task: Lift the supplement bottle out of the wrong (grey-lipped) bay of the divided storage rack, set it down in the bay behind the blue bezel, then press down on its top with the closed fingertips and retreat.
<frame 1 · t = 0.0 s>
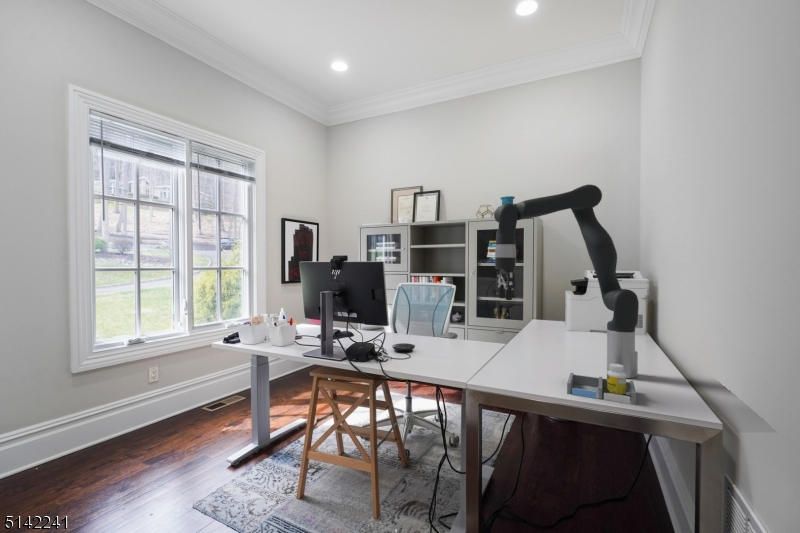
hand: (505, 299, 138), 29 cm above the table, fingers open, 8 cm apart
supplement bottle: (616, 395, 117), resting in divided storage rack
divided storage rack: (600, 392, 119), on the table
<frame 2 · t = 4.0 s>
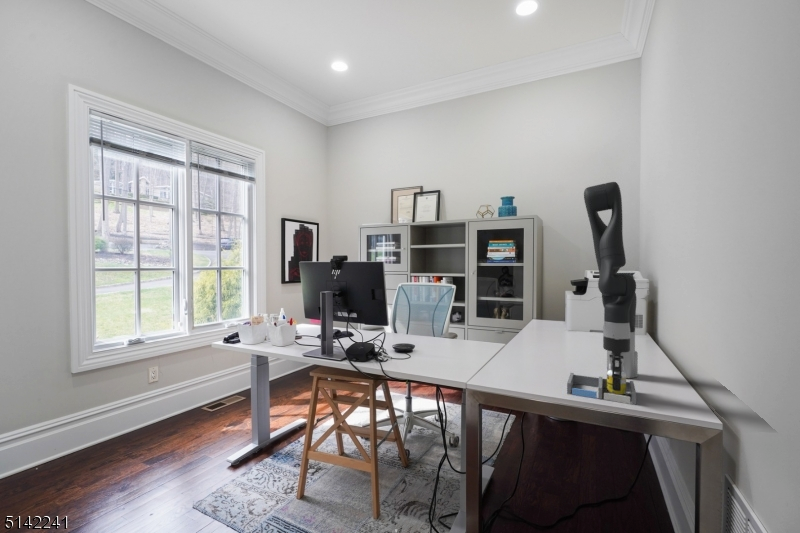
hand: (616, 387, 117), 3 cm above the table, fingers closed on supplement bottle, 5 cm apart
supplement bottle: (616, 395, 117), resting in divided storage rack, touching gripper
when the fingers open (4 cm above the table, at t = 9.0 s): supplement bottle drops 1 cm, resting in divided storage rack.
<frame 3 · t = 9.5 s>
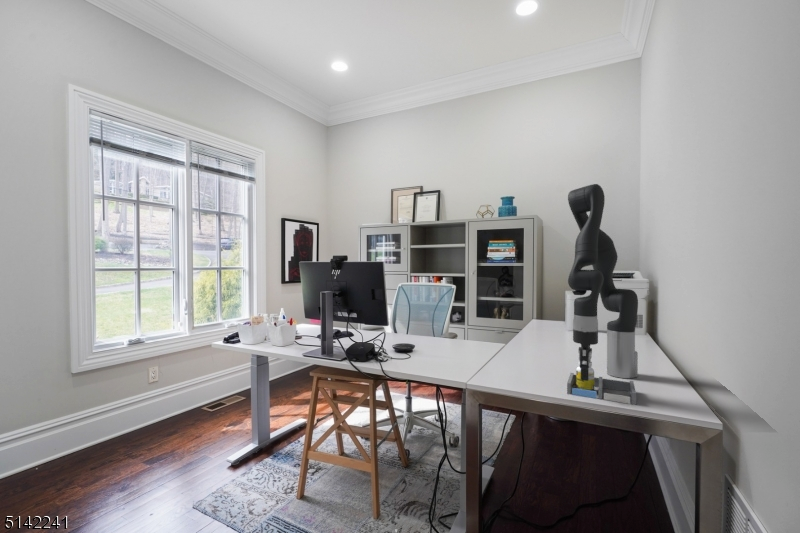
hand: (585, 376, 121), 5 cm above the table, fingers open, 8 cm apart
supplement bottle: (585, 390, 122), resting in divided storage rack
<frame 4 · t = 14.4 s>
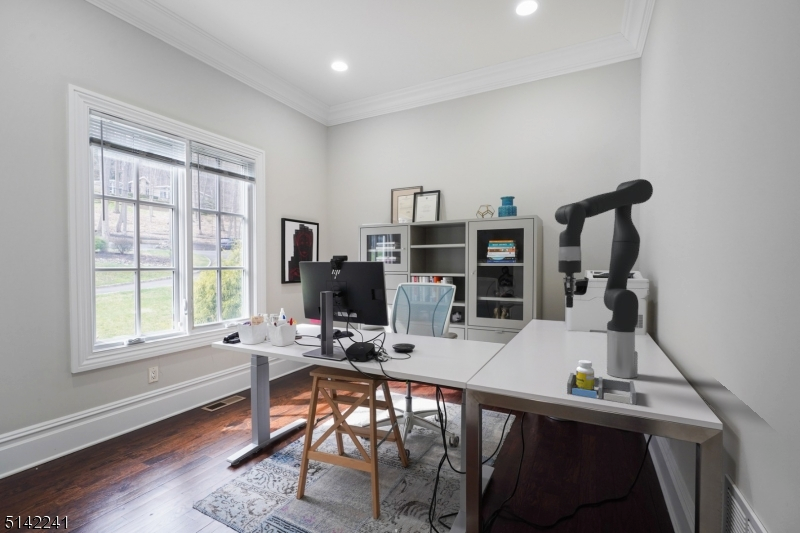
hand: (569, 307, 130), 27 cm above the table, fingers closed
nothing on the table moved.
at the end: supplement bottle 0.0 cm from the target spot, resting in divided storage rack; supplement bottle tilted 0°; the gripper is holding nothing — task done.
